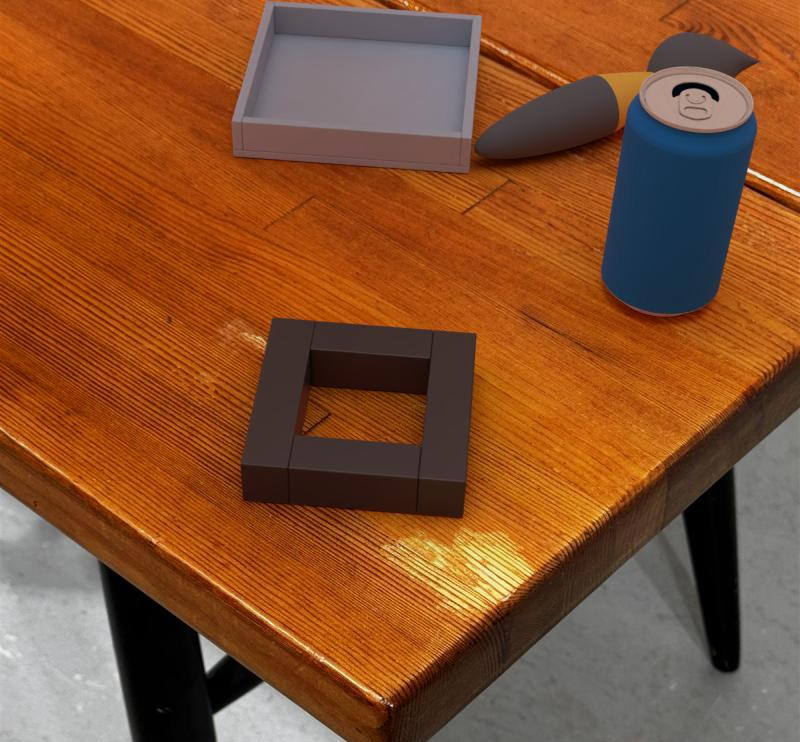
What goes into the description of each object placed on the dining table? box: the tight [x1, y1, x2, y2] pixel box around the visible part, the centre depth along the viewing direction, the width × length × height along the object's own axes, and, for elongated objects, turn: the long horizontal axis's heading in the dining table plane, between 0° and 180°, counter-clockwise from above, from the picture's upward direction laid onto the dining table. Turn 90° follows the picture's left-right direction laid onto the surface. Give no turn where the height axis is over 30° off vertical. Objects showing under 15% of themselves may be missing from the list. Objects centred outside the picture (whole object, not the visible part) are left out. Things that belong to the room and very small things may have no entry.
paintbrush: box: [473, 31, 761, 160], centre depth 89 cm, size 20×5×5 cm, turn 122°
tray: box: [231, 0, 483, 175], centre depth 91 cm, size 14×14×2 cm
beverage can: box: [600, 67, 758, 318], centre depth 76 cm, size 6×6×12 cm
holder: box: [239, 316, 478, 519], centre depth 71 cm, size 10×10×2 cm
